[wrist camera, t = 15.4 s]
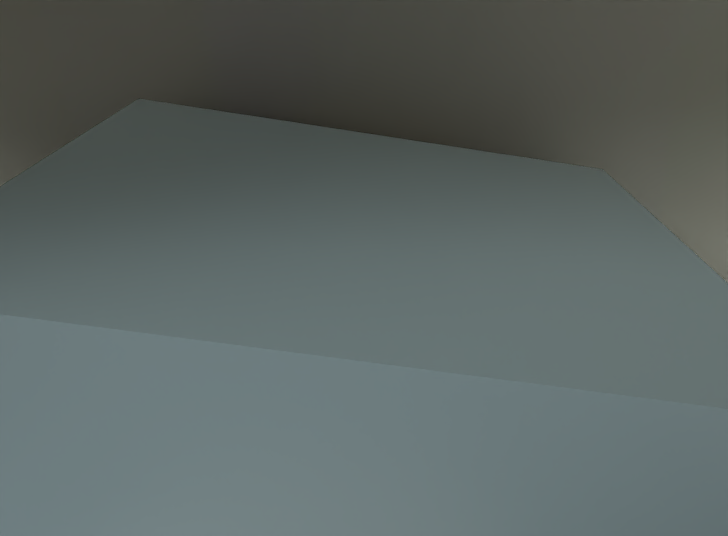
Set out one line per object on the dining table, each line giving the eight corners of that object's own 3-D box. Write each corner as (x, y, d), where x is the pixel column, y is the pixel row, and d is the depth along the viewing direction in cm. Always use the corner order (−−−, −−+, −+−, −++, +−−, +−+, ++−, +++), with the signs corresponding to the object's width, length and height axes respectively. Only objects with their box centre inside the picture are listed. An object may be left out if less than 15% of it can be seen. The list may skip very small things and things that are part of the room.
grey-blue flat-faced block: (138, 463, 18) (-38, 856, 10) (138, 98, 14) (-167, 292, 6) (493, 505, 19) (586, 906, 11) (602, 169, 14) (888, 429, 7)
